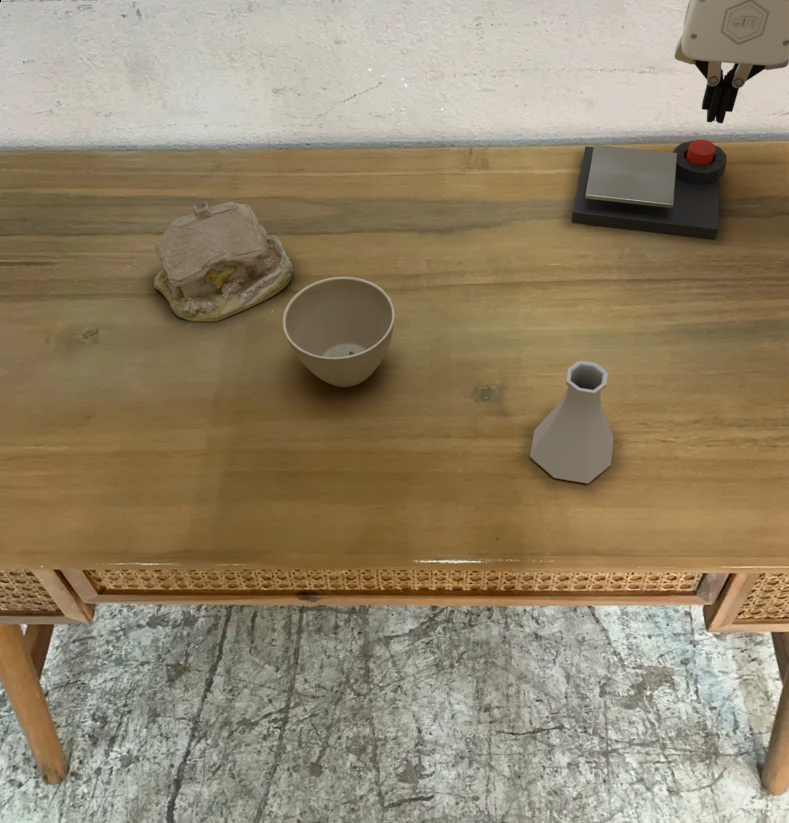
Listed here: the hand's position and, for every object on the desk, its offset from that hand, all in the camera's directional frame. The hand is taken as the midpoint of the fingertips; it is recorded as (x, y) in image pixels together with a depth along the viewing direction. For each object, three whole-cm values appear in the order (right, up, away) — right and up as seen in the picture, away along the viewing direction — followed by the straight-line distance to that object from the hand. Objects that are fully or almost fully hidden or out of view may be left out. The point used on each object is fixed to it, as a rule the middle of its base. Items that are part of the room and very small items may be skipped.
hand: (714, 115), depth 87 cm
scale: (-6, -7, +6) cm, 11 cm away
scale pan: (-8, -6, +3) cm, 10 cm away
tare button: (0, -3, +5) cm, 6 cm away
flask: (-18, -34, -14) cm, 42 cm away
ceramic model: (-52, -17, +1) cm, 54 cm away
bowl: (-38, -27, -7) cm, 47 cm away
